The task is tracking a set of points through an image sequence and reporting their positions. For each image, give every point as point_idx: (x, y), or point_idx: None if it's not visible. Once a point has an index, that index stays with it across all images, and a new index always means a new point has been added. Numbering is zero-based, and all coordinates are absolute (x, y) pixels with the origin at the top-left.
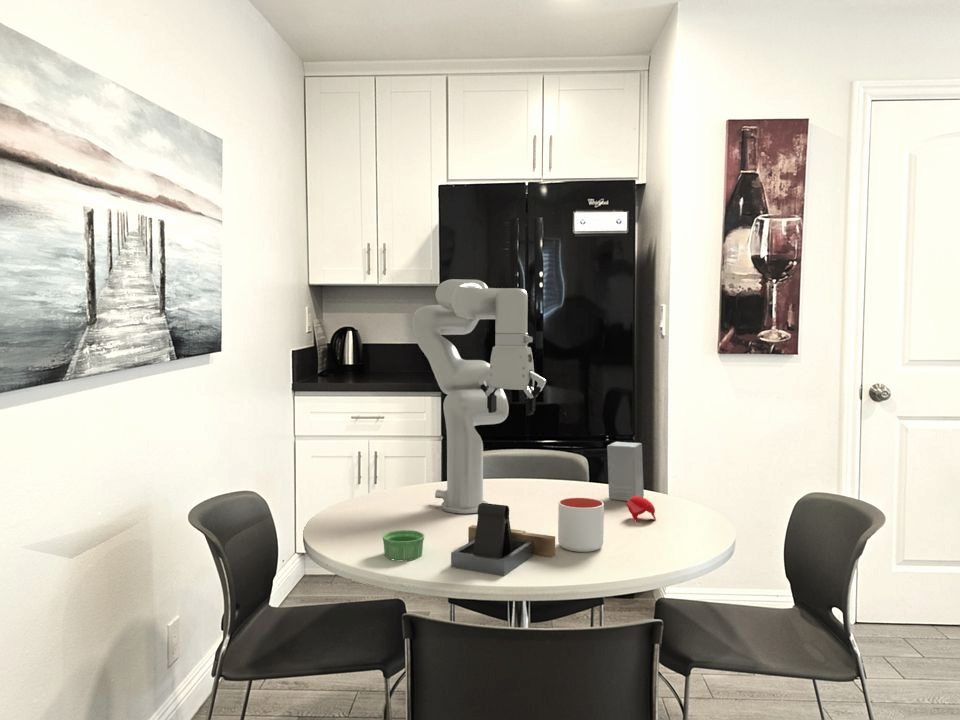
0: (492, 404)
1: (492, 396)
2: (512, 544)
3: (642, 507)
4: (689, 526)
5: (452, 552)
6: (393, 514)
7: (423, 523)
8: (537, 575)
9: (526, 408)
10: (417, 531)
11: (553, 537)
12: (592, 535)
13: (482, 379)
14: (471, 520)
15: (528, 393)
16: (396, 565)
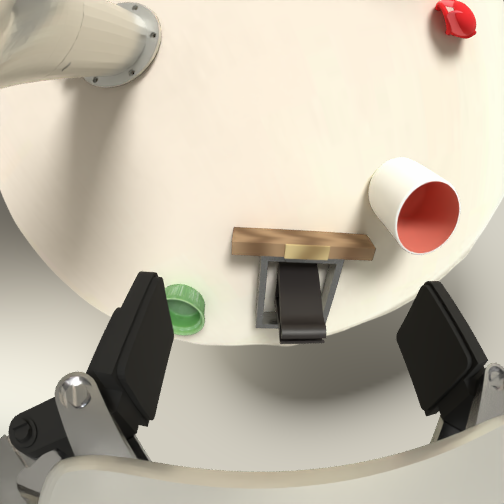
0: (159, 364)
1: (139, 409)
2: (318, 279)
3: (468, 34)
4: (498, 54)
5: (257, 326)
6: (49, 150)
7: (108, 167)
8: (354, 303)
9: (409, 367)
10: (180, 300)
11: (373, 254)
12: (422, 222)
13: (36, 495)
14: (166, 107)
15: (445, 436)
16: None
